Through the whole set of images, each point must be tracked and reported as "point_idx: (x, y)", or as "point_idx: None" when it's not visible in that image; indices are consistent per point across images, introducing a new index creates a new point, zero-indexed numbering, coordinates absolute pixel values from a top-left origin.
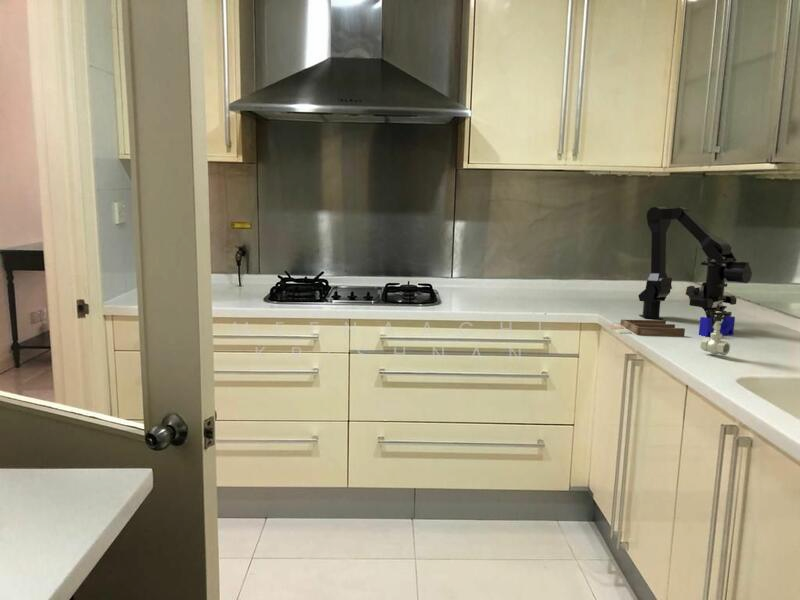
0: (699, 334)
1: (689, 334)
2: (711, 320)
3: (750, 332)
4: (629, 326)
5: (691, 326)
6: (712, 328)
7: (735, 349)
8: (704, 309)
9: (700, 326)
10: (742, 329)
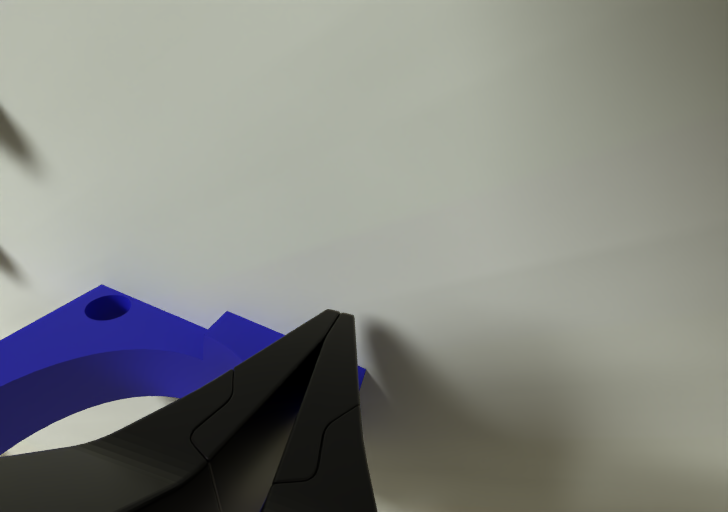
0: (96, 292)
1: (54, 231)
2: (3, 450)
3: (551, 508)
4: None
5: (460, 18)
6: (98, 395)
7: (53, 444)
8: (60, 466)
9: (25, 334)
10: (697, 478)
